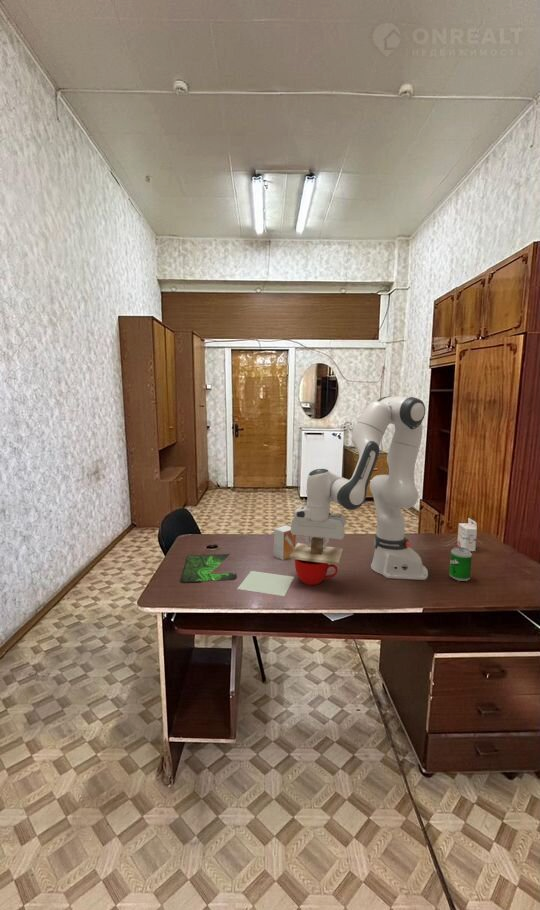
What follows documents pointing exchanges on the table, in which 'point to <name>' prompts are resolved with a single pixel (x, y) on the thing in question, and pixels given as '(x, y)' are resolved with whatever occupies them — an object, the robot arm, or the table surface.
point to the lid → (317, 552)
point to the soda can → (460, 564)
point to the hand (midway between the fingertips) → (316, 547)
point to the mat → (266, 583)
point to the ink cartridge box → (467, 535)
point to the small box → (283, 542)
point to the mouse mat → (204, 569)
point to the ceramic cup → (312, 571)
